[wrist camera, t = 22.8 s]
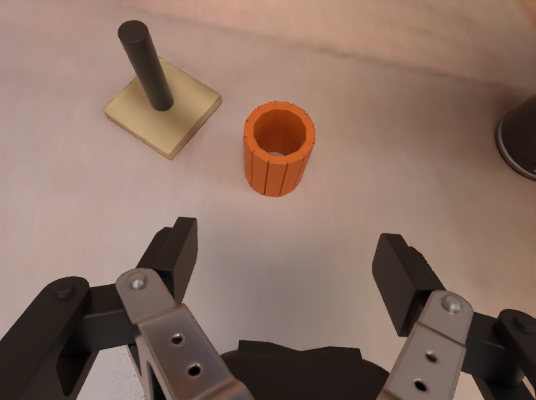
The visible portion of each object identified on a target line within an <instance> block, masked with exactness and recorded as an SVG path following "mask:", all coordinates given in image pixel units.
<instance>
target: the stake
mask: <svg viewBox="0 0 536 400" xmlns="http://www.w3.org/2000/svg"><path fill="white" fill-rule="evenodd" d="M118 37H119V39H120V41H121V43H122V45H123V47H124V49H125V51H126V53H127V55H128V58H129V60H130V62H131V64H132V66H133V68H134V70H135V72H136V74H137V76H136V77H135V78H134V79H133V80H132V81H131V82H130V83H129V84H128V85H127V86H126V87H125V88H124V89H123V90H122V91H121V92H120V93H119V94H118V95H117V96H116V97H115V98H114V99H113V100H112V101H111V102H110V103H109V104H108V105H107V106H106V107H105V108H104V109H103V110H102V111H103V112H104V114H105V115H106V116H107V118H108V119H110V120H111V121H113V122H114V123H116V124H117V125H119V126H120V127H122V128H123V129H125V130H126V131H128V132H129V133H131V134H132V135H134V136H135V137H137V138H138V139H140V140H141V141H143V142H144V143H146V144H147V145H149V146H150V147H152V148H153V149H155V150H156V151H158V152H159V153H161V154H162V155H164V156H165V157H167V158H168V159H170V160H172V159H173V158H174V157H175V156H176V155H177V154H178V153H179V151H180V150H181V149H182V148H183V147H184V146H185V145H186V143H187V142H188V141H189V140H190V139H191V138H192V136H193V135H194V134H195V133H196V132H197V131H198V130H199V128H200V127H201V126H202V125H203V124H204V123H205V122H206V120H207V119H208V118H209V117H210V116H211V115H212V113H213V112H214V111H215V110H216V109H217V108H218V107H219V105H220V104H221V103H222V100H221V95H220V94H219V93H217V92H215V91H214V90H212V89H211V88H209V87H207V86H206V85H204V84H202V83H201V82H199V81H198V80H196V79H194V78H193V77H191V76H189V75H188V74H186V73H184V72H183V71H181V70H180V69H178V68H176V67H175V66H173V65H171V64H170V63H168V62H167V61H165V60H163V59H162V58H160V57H158V56H157V53H156V50H155V47H154V45H153V42H152V39H151V36H150V34H149V31H148V28H147V26H146V25H145V24H144V23H142V22H140V21H137V20H131V21H127V22H125V23H123V24H122V25H121V26H120V27H119V29H118Z"/></svg>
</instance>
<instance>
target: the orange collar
mask: <svg viewBox="0 0 536 400" xmlns="http://www.w3.org/2000/svg"><path fill="white" fill-rule="evenodd" d="M314 143H315V128H314V124H313V122H312V121H311V119H310V117H309V116H308V114H307V113H305V111H304V110H302V109H301V108H299V107H297V106H296V105H294V104H291V105H290V103H288V102H277V101H274V102H273V103H272V102H269V103H267V104H264V105H262V106H259V107H257V109H255V110H254V111H253V112H252V113H251V115H250V116H249V117H248V118H247V119H246V122H245V128H244V157H245V174H246V178H247V180H248V182H249V184H250V186H251V187H252V188H253V189H255V190H256V191H258V192H259V193H261V194H262V195H264V194H265V196H274V197H279V195H280V196H283V195H285V194H287V193H289V192H292V190H294V189H295V187H296V186H297V184H298V183H299V182H300V180H301V177H302V175H303V172H304V169H305V167H306V164H307V162H308V159H309V156H310V154H311V151H312V149H313V146H314ZM269 151H272V152H281V153H282V154H284V155H285V156H279V155H271V154H269V153H268V152H269Z"/></svg>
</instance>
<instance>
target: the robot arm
mask: <svg viewBox="0 0 536 400" xmlns="http://www.w3.org/2000/svg"><path fill="white" fill-rule="evenodd" d="M496 141H497V145H498V148H499V150H500V152H501V154H502V156H503V157H504V159H505V160H506V161H507V162H508V163H509V165H510V166H512V167H513V168H514V169H515V170H516V171H518V172H519V173H521V174H522V175H524V176H526V177H528V178H530V179H533V180H536V93H535V94H534V95H532V96H531V97H530V98H528V99H527V100H526V101H525V102H523V103H522V104H521V105H519V106H518V107H517V108H515V109H513V110H512V111H510V112H509V113H507V114H506V115H505V116H504V117H503V118H502V119H501V120H500V122H499V123H498V126H497V129H496ZM197 252H198V238H197V219H196V218H190V217H178V219H177V221H176V222H175V224H174V226H173V228H171V227H165V228H163V229H162V230H160V231H159V232H157V233H156V235H155V236H154V238H153V240H152V242H151V243H150V245H149V246H148V248H147V250H146V251H145V253H144V255H143V256H142V258H141V260H140V261H139V263H138V265H137V266H136V268H135V269H132V270H129V271H127V272H125V273H123V274H122V275H121V276H120V277H119V278H118V279H117V281H116V283H114V284H110V285H104V286H97V287H89V283H88V281H87V280H86V279H84V278H82V277H76V276H71V277H65V278H61V279H58V280H56V281H53V282H52V283H50V284H48V285H47V286H46V287H44V289H43V290H42V291H41V292H40V293H39V294H38V296H37V297H36V298H35V299H34V300H33V302H32V303H31V304H30V305H29V307H28V308H27V309H26V310H25V311H24V313H23V314H22V315H21V316H20V317H19V319H18V320H17V321H16V322H15V324H14V325H13V326H12V327H11V328H10V330H9V331H8V332H7V333H6V334H5V336H4V337H3V338H2V339H1V341H0V400H76V399H77V396H78V394H79V392H80V390H81V388H82V386H83V384H84V382H85V380H86V378H87V376H88V374H89V372H90V369H91V367H92V365H93V363H94V361H95V359H96V357H97V355H98V353H99V351H100V350H103V349H108V348H113V347H118V346H123V345H126V348H127V351H128V353H129V356H130V358H131V361H132V363H133V365H134V368H135V370H136V373H137V375H138V378H139V380H140V383H141V386H142V389H143V392H144V396H145V400H453V397H454V394H455V390H456V386H457V383H458V379H459V375H460V371H462V372H465V373H468V374H471V375H472V377H473V379H474V380H475V382H476V384H477V386H478V388H479V390H480V392H481V394H482V396H483V398H484V400H535V399H534V397H533V396H532V394H531V393H530V391H529V390H528V388H527V387H526V385H525V384H524V382H523V381H522V379H523V378H524V376H526V377H527V379H528V380H529V382H530V383H531V385H532V386H533V388H534V391H535V396H536V319H535V318H533V317H532V316H530V315H528V314H526V313H523V312H521V311H517V310H513V309H505V310H502V311H501V312H500V314H499V316H498V317H497V318H494V317H490V316H487V315H483V314H480V313H477V312H474V311H473V308H472V306H471V305H470V304H469V302H468V301H466V300H465V299H464V298H462V297H461V296H459V295H457V294H455V293H453V292H450V291H447V290H446V289H445V287H444V286H443V284H442V283H441V281H440V280H439V279H438V277H437V276H436V274H435V273H434V271H432V268H431V267H430V265H429V264H427V261H426V260H425V258H424V257H423V255H422V254H421V253H420V252H418V251H417V250H416V249H415V248H413V247H410V246H408V245H407V243H406V242H405V240H404V239H403V237H402V236H401V235H400V234H388V233H382V234H381V235H380V238H379V241H378V245H377V248H376V252H375V256H374V259H373V263H372V273H373V277H374V279H375V282H376V284H377V287H378V289H379V291H380V294H381V296H382V299H383V301H384V303H385V306H386V308H387V310H388V313H389V315H390V318H391V320H392V322H393V325H394V327H395V330H396V332H397V334H398V337H408V338H407V340H406V342H405V344H404V346H403V348H402V350H401V352H400V354H399V356H398V358H397V360H396V362H395V364H394V366H393V368H392V370H391V372H390V373H389V372H388V371H386V370H385V369H383V368H382V367H380V366H378V365H376V364H374V363H372V362H370V361H367V360H364V359H362V356H361V353H360V349H359V348H346V347H332V346H329V347H323V348H317V349H311V350H305V351H298V350H294V349H291V348H287V347H284V346H280V345H277V344H274V343H270V342H260V341H246V340H239V345H238V350H234V351H230V352H226V353H223V354H221V355H219V354H218V352H217V351H216V349H215V348H214V346H213V345H212V343H211V342H210V340H209V339H208V337H207V336H206V334H205V333H204V331H203V330H202V328H201V327H200V325H199V324H198V322H197V321H196V319H195V318H194V316H193V315H192V313H191V312H190V310H189V309H188V307H187V306H186V305H185V304H184V303H182V301H183V298H184V295H185V292H186V289H187V286H188V283H189V280H190V277H191V275H192V272H193V269H194V266H195V263H196V259H197ZM181 303H182V304H181Z"/></svg>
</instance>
